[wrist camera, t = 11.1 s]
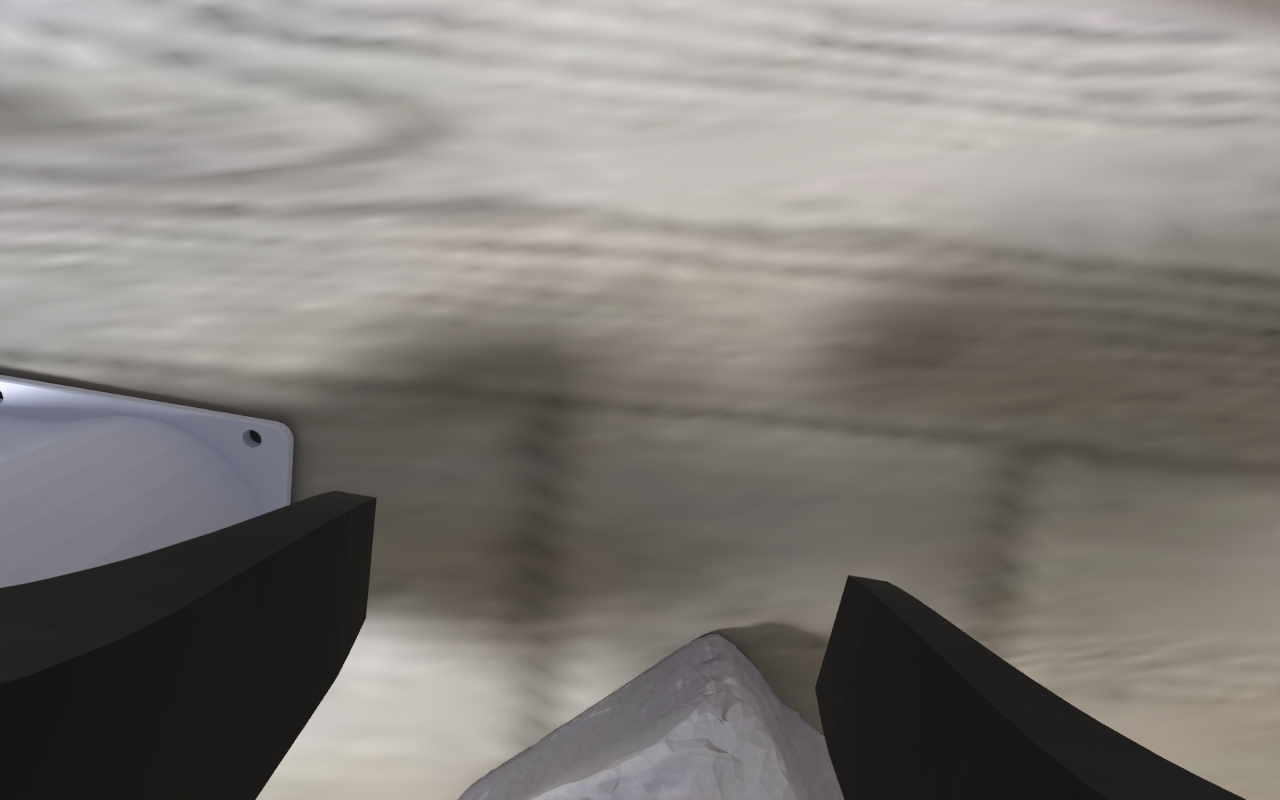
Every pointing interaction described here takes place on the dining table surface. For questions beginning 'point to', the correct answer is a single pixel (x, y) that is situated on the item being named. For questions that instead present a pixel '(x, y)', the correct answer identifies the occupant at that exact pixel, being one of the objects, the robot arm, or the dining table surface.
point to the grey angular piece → (676, 741)
